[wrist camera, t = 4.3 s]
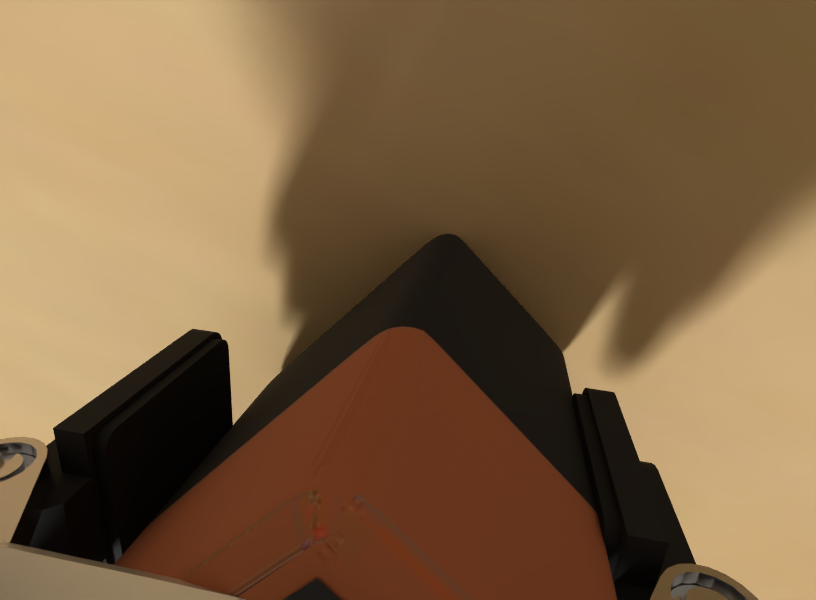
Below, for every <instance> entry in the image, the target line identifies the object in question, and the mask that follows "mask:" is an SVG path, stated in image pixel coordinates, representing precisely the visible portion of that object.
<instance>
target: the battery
mask: <svg viewBox="0 0 816 600" xmlns="http://www.w3.org/2000/svg"><path fill="white" fill-rule="evenodd" d="M114 565H116V566H121V567H126V568H130V569H135V570H140V571H144V572H149V573H154V574H158V575H163V576H167V577H172V578H177V579H180V580H183V581H186V582H189V583H192V584H195V585H198V586H202V587H205V588H208V589H211V590H214V591H218V592H221V593H224V594H228V595H231V596H235V597H239V598H243V599H246V600H617V597H616V592H615V588H614V583H613V579H612V574H611V570H610V565H609V560H608V556H607V551H606V547H605V544H604V540H603V535H602V531H601V526H600V522H599V517H598V512H597V508H596V503H595V499H594V494H593V489H592V485H591V480H590V476H589V471H588V466H587V462H586V457H585V453H584V448H583V443H582V439H581V434H580V430H579V425H578V421H577V416H576V411H575V407H574V402H573V398H572V391H571V387H570V382H569V378H568V373H567V369H566V364H565V360H564V356H563V353H562V351H561V350H560V348H559V347H558V346H557V345H556V344H555V342H554V341H553V340H552V339H551V338H550V337H549V336H548V335H547V334H546V332H545V331H544V330H543V329H542V328H541V327H540V326H539V325H538V324H537V322H536V321H535V320H534V319H533V318H532V317H531V316H530V315H529V314H528V312H527V311H526V310H525V309H524V308H523V307H522V306H521V305H520V304H519V302H518V301H517V300H516V299H515V298H514V297H513V296H512V295H511V294H510V292H509V291H508V290H507V289H506V288H505V287H504V286H503V285H502V284H501V283H500V281H499V280H498V279H497V278H496V277H495V276H494V275H493V274H492V273H491V271H490V270H489V269H488V268H487V267H486V266H485V265H484V264H483V263H482V261H481V260H480V259H479V258H478V257H477V256H476V255H475V254H474V253H473V251H472V250H471V249H470V248H469V247H468V246H467V245H466V244H465V243H464V242H463V241H462V240H461V239H460V238H459V237H458V236H456V235H452V234H445V235H441V236H438V237H436V238H434V239H433V240H431V241H430V242H429V243H427V244H426V245H425V246H424V247H423V248H421V249H420V250H419V251H418V252H417V253H416V254H414V255H413V256H412V257H411V258H410V259H409V260H408V261H406V262H405V263H404V264H403V265H402V266H401V267H400V268H398V269H397V270H396V271H395V272H394V273H393V274H392V275H391V276H389V277H388V278H387V279H386V280H385V281H384V282H383V283H381V284H380V285H379V286H378V287H377V288H376V289H375V290H374V291H372V292H371V293H370V294H369V295H368V296H367V297H366V298H364V299H363V300H362V301H361V302H360V303H359V304H358V305H357V306H355V307H354V308H353V309H352V310H351V311H350V312H349V313H347V314H346V315H345V316H344V317H343V318H342V319H341V320H339V321H338V322H337V323H336V324H335V325H334V326H333V327H332V328H330V329H329V330H328V331H327V332H326V333H325V334H324V335H322V336H321V337H320V338H319V339H318V340H317V341H316V342H315V343H313V344H312V345H311V346H310V347H309V348H308V349H307V350H305V351H304V352H303V353H302V354H301V355H300V356H299V357H298V358H296V359H295V360H294V361H293V362H292V363H291V364H290V365H288V366H287V367H286V368H285V369H284V370H283V371H282V372H281V373H279V374H278V375H277V376H276V377H275V378H274V379H273V380H272V381H271V382H270V383H269V384H268V385H267V386H266V388H265V389H264V390H263V391H262V392H261V393H260V395H259V396H258V397H257V398H256V399H255V400H254V402H253V403H252V404H251V405H250V406H249V407H248V409H247V410H246V411H245V412H244V413H243V414H242V416H241V417H240V418H239V419H238V420H237V421H236V423H235V424H234V425H233V426H232V427H231V428H230V430H229V431H228V432H227V433H226V434H225V435H224V437H223V438H222V439H221V440H220V441H219V442H218V444H217V445H216V446H215V447H214V448H213V450H212V451H211V452H210V453H209V454H208V455H207V457H206V458H205V459H204V460H203V461H202V462H201V464H200V465H199V466H198V467H197V468H196V469H195V471H194V472H193V473H192V474H191V475H190V476H189V478H188V479H187V480H186V481H185V482H184V483H183V485H182V486H181V487H180V488H179V489H178V490H177V492H176V493H175V494H174V495H173V496H172V497H171V499H170V500H169V501H168V502H167V503H166V504H165V506H164V507H163V508H162V509H161V510H160V511H159V513H158V514H157V515H156V516H155V517H154V518H153V520H152V521H151V522H150V523H149V524H148V526H147V527H146V528H145V529H144V530H143V531H142V533H141V534H140V535H139V536H138V537H137V538H136V540H135V541H134V542H133V543H132V544H131V545H130V547H129V548H128V549H127V550H126V551H125V552H124V554H123V555H122V556H121V557H120V558H119V559H118V561H117V562H116V563H115V564H114Z"/></svg>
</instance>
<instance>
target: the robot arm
mask: <svg viewBox="0 0 816 600" xmlns="http://www.w3.org/2000/svg"><path fill="white" fill-rule="evenodd" d="M572 398H573V402H574V407H575V411H576V416H577V421H578V425H579V430H580V434H581V439H582V443H583V448H584V453H585V457H586V462H587V466H588V471H589V476H590V480H591V485H592V489H593V494H594V499H595V503H596V508H597V512H598V517H599V522H600V526H601V531H602V535H603V540H604V544H605V547H606V551H607V556H608V560H609V565H610V570H611V574H612V579H613V583H614V588H615V592H616V597H617V600H758V599H757V597H755V596H754V595H753V594H752V593H751V592H750V591H749V590H747V589H746V588H745V587H744V586H743V585H742V584H740V583H738V582H737V581H735V580H734V579H732V578H730V577H729V576H727V575H726V574H723V573H721V572H719V571H716V570H714V569H712V568H709V567H706V566H701V565H697V564H696V563H695V560H694V558H693V555H692V553H691V550H690V548H689V545H688V543H687V541H686V538H685V536H684V533H683V531H682V528H681V526H680V523H679V521H678V518H677V516H676V513H675V511H674V509H673V506H672V504H671V501H670V499H669V496H668V494H667V491H666V489H665V486H664V484H663V482H662V479H661V477H660V474H659V472H658V470H657V468H656V466H655V465H654V464H652V463H648V462H642V461H639V458H638V455H637V452H636V450H635V447H634V444H633V441H632V439H631V436H630V433H629V431H628V428H627V425H626V422H625V420H624V417H623V414H622V411H621V409H620V406H619V403H618V401H617V398H616V395H615V393H614V392H609V391H602V390H596V389H589V388H585V389H584V391H583V393H582V394H576V393H574V394H573V396H572ZM232 426H233V422H232V404H231V385H230V367H229V349H228V343H227V341H225V340H222V338H221V335H220V334H219V333H217V332H210V331H204V330H197V329H192V330H190V331H188V332H187V333H186V334H184V335H183V336H181V337H180V338H179V339H177V340H176V341H174V342H173V343H172V344H170V345H169V346H167V347H166V348H165V349H163V350H162V351H160V352H159V353H158V354H156V355H155V356H153V357H152V358H151V359H149V360H148V361H146V362H145V363H144V364H142V365H141V366H139V367H138V368H137V369H135V370H134V371H132V372H131V373H130V374H128V375H127V376H125V377H124V378H123V379H121V380H120V381H118V382H117V383H116V384H114V385H113V386H111V387H110V388H109V389H107V390H106V391H104V392H103V393H102V394H100V395H99V396H97V397H96V398H95V399H93V400H92V401H91V402H89V403H88V404H86V405H85V406H84V407H82V408H81V409H79V410H78V411H77V412H75V413H74V414H72V415H71V416H70V417H68V418H67V419H65V420H64V421H63V422H61V423H60V424H58V425H57V426H56V427H54V428H53V430H54V435H55V440H54V441H52V442H51V443H50V444H48V445H47V446H46V445H45V444H44V443H43V442H41V441H39V440H37V439H34V438H27V437H14V438H6V439H0V600H246V599H243V598H239V597H235V596H231V595H228V594H224V593H221V592H218V591H214V590H211V589H208V588H205V587H202V586H198V585H195V584H192V583H189V582H186V581H183V580H180V579H177V578H172V577H167V576H163V575H158V574H154V573H149V572H144V571H140V570H135V569H130V568H126V567H121V566H116V565H114V564H115V563H116V562H117V561H118V559H119V558H120V557H121V556H122V555H123V554H124V552H125V551H126V550H127V549H128V548H129V547H130V545H131V544H132V543H133V542H134V541H135V540H136V538H137V537H138V536H139V535H140V534H141V533H142V531H143V530H144V529H145V528H146V527H147V526H148V524H149V523H150V522H151V521H152V520H153V518H154V517H155V516H156V515H157V514H158V513H159V511H160V510H161V509H162V508H163V507H164V506H165V504H166V503H167V502H168V501H169V500H170V499H171V497H172V496H173V495H174V494H175V493H176V492H177V490H178V489H179V488H180V487H181V486H182V485H183V483H184V482H185V481H186V480H187V479H188V478H189V476H190V475H191V474H192V473H193V472H194V471H195V469H196V468H197V467H198V466H199V465H200V464H201V462H202V461H203V460H204V459H205V458H206V457H207V455H208V454H209V453H210V452H211V451H212V450H213V448H214V447H215V446H216V445H217V444H218V442H219V441H220V440H221V439H222V438H223V437H224V435H225V434H226V433H227V432H228V431H229V430H230V428H231V427H232Z"/></svg>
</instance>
